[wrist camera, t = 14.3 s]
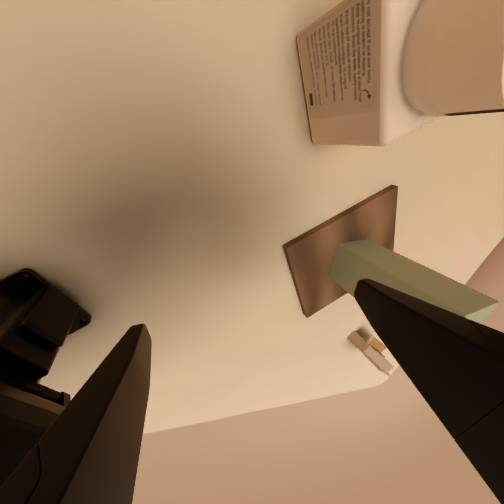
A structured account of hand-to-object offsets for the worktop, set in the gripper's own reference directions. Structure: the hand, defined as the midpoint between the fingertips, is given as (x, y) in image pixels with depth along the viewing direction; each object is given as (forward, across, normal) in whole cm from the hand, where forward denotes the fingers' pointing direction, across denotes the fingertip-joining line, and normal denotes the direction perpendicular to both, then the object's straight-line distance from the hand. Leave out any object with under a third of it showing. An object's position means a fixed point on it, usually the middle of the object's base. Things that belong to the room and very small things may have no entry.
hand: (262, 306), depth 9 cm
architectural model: (+15, -24, +30) cm, 41 cm away
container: (+15, -12, -9) cm, 21 cm away
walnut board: (+14, -16, +9) cm, 23 cm away
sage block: (+13, -16, +9) cm, 23 cm away
